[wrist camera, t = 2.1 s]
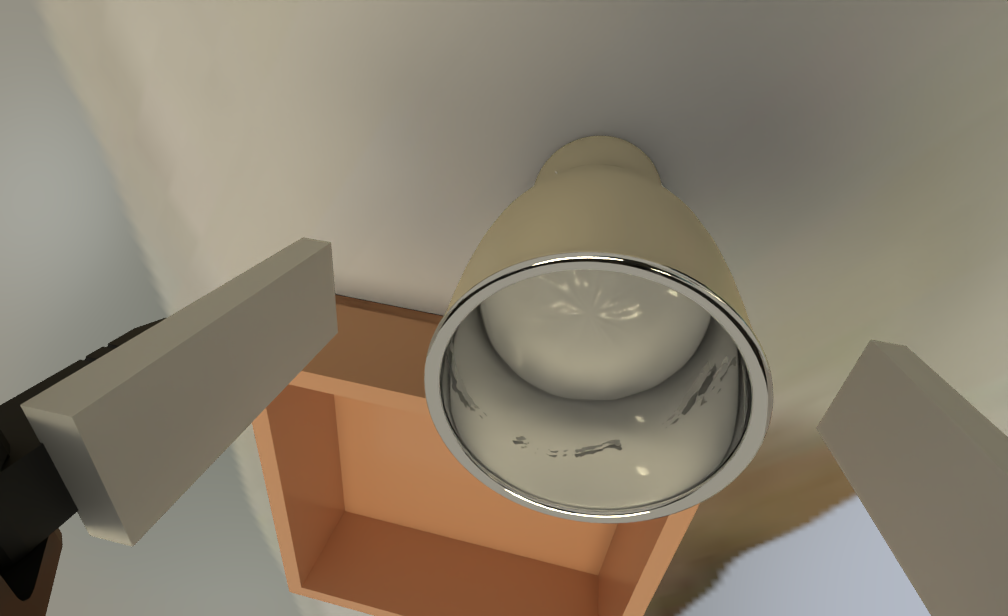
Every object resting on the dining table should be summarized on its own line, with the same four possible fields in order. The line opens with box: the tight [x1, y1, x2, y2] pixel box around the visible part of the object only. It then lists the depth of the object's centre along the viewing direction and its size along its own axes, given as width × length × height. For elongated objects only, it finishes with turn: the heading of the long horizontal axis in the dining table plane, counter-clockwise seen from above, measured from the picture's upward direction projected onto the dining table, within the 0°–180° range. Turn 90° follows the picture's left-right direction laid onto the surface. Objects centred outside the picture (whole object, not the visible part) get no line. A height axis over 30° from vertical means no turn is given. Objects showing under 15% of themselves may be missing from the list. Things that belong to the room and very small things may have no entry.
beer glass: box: [424, 136, 773, 524], centre depth 15 cm, size 7×7×15 cm
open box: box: [252, 295, 700, 616], centre depth 28 cm, size 22×20×7 cm
